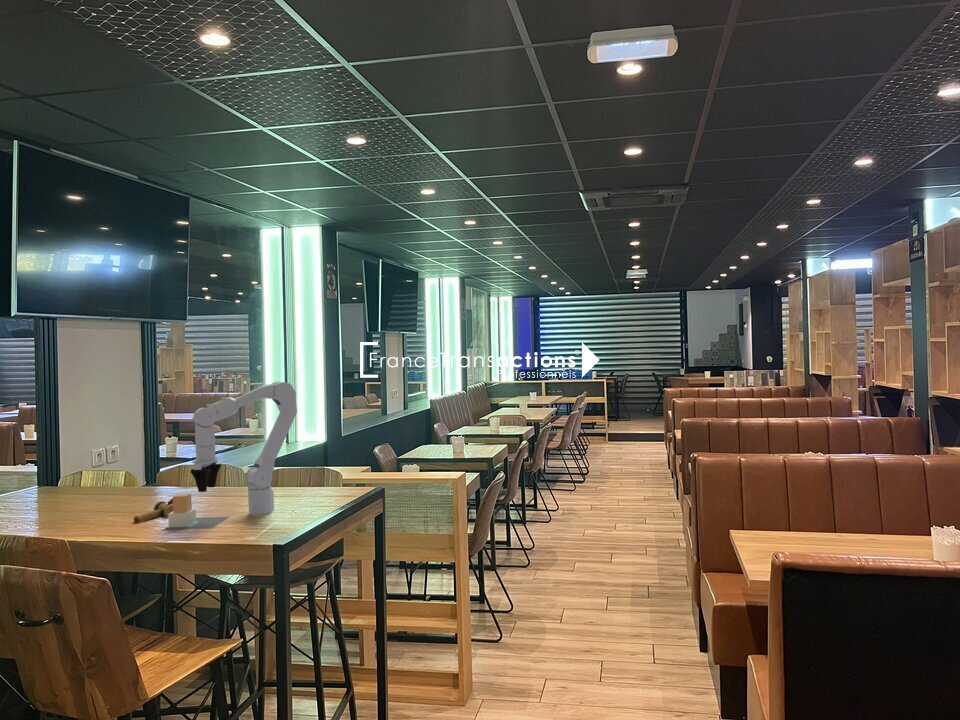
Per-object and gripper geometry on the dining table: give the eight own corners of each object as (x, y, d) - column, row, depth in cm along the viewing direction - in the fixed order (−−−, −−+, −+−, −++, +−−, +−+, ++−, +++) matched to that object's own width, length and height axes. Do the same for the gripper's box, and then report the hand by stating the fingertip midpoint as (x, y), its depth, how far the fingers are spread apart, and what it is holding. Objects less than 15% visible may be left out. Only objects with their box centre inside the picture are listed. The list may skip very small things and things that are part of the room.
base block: (176, 522, 225) (176, 509, 225) (196, 521, 225) (195, 508, 225) (168, 527, 219) (168, 513, 219) (188, 526, 219) (188, 513, 219)
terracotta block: (178, 510, 224) (178, 494, 224) (191, 509, 224) (191, 493, 224) (173, 513, 220) (172, 496, 220) (186, 512, 220) (186, 496, 220)
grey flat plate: (182, 520, 231) (182, 518, 231) (230, 519, 231) (230, 516, 231) (161, 533, 215) (161, 530, 215) (212, 531, 215) (212, 528, 215)
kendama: (147, 530, 226) (194, 510, 241) (142, 511, 225) (188, 492, 241) (132, 532, 229) (179, 513, 245) (126, 513, 229) (173, 495, 245)
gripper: (201, 443, 234) (202, 485, 234) (183, 449, 220) (185, 494, 220) (223, 443, 234) (224, 484, 234) (206, 448, 220) (208, 493, 220)
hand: (207, 489), depth 227 cm, fingers open, 7 cm apart
